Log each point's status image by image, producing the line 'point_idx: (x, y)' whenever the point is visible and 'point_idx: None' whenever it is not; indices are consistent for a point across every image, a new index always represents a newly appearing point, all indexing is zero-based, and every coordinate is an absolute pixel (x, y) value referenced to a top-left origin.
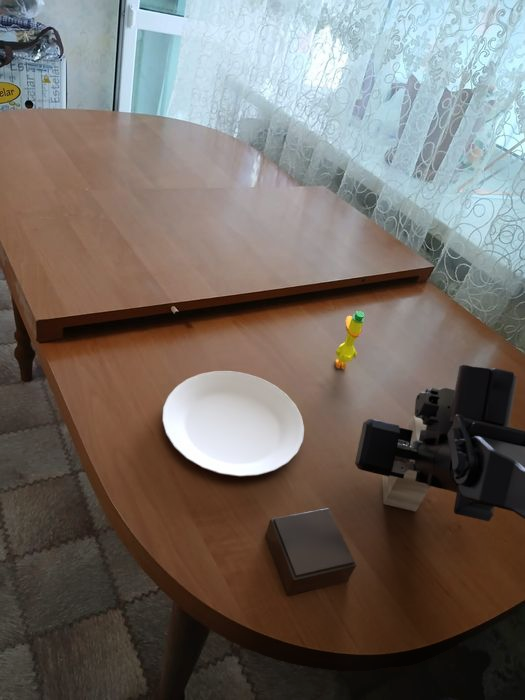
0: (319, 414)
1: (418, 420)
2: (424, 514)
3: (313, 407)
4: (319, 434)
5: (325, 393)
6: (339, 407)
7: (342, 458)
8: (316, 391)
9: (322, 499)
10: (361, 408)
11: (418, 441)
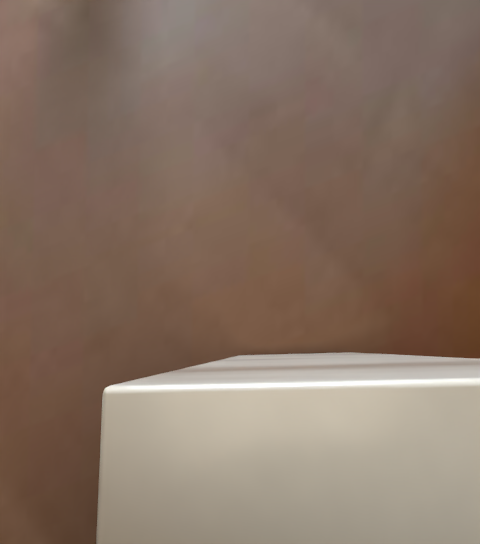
0: (34, 143)
1: (160, 519)
2: None
3: (15, 121)
4: (32, 229)
5: (55, 47)
6: (99, 88)
7: (106, 306)
8: (26, 50)
9: (35, 511)
10: (173, 64)
11: None
